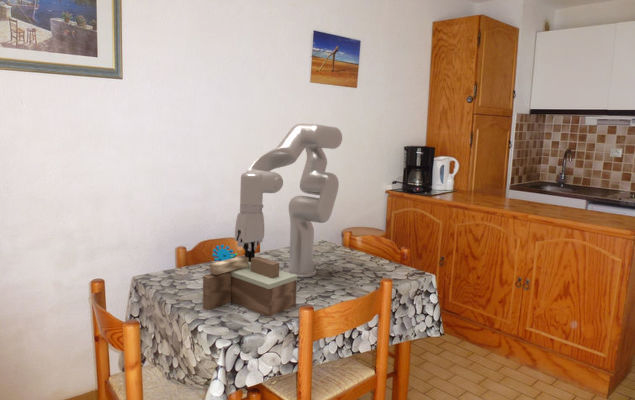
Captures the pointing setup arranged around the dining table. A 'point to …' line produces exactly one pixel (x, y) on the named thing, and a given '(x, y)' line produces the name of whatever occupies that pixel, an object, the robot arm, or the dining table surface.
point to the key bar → (229, 265)
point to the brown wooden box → (247, 294)
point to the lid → (263, 273)
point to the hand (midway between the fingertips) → (249, 261)
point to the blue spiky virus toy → (223, 253)
